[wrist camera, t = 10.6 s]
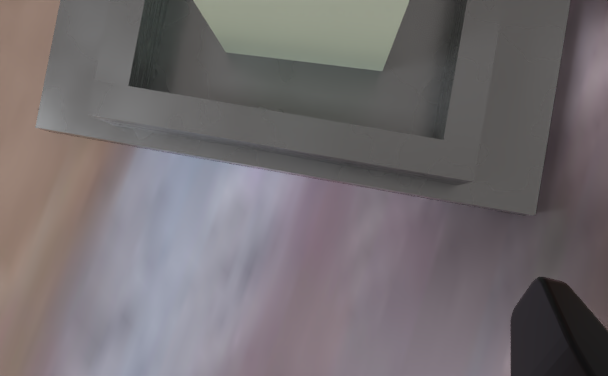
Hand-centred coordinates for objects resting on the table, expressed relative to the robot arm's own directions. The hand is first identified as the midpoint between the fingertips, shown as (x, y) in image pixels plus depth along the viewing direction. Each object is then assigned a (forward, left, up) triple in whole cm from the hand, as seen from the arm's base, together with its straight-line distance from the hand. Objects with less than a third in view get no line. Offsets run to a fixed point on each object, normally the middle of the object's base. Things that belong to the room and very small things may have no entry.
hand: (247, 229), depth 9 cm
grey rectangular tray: (+8, +1, -10) cm, 13 cm away
